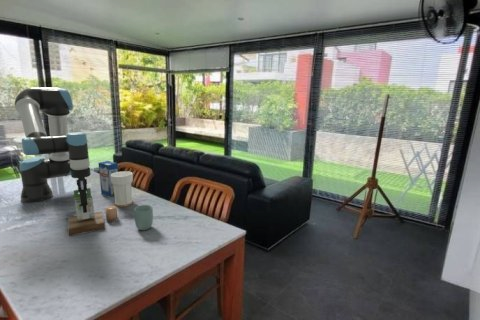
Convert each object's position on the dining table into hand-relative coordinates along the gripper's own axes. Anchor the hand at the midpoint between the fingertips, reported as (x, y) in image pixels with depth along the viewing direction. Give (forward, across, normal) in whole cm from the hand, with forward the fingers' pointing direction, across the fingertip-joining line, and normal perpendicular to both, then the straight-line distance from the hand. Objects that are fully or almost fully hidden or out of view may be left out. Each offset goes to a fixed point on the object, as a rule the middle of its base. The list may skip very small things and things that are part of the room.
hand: (85, 216), depth 125 cm
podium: (+5, 0, 0) cm, 5 cm away
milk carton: (+5, -40, +14) cm, 43 cm away
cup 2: (+5, +15, +23) cm, 28 cm away
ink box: (+1, 0, 0) cm, 1 cm away
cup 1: (+5, -21, +19) cm, 29 cm away
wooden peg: (+5, -2, +11) cm, 12 cm away
